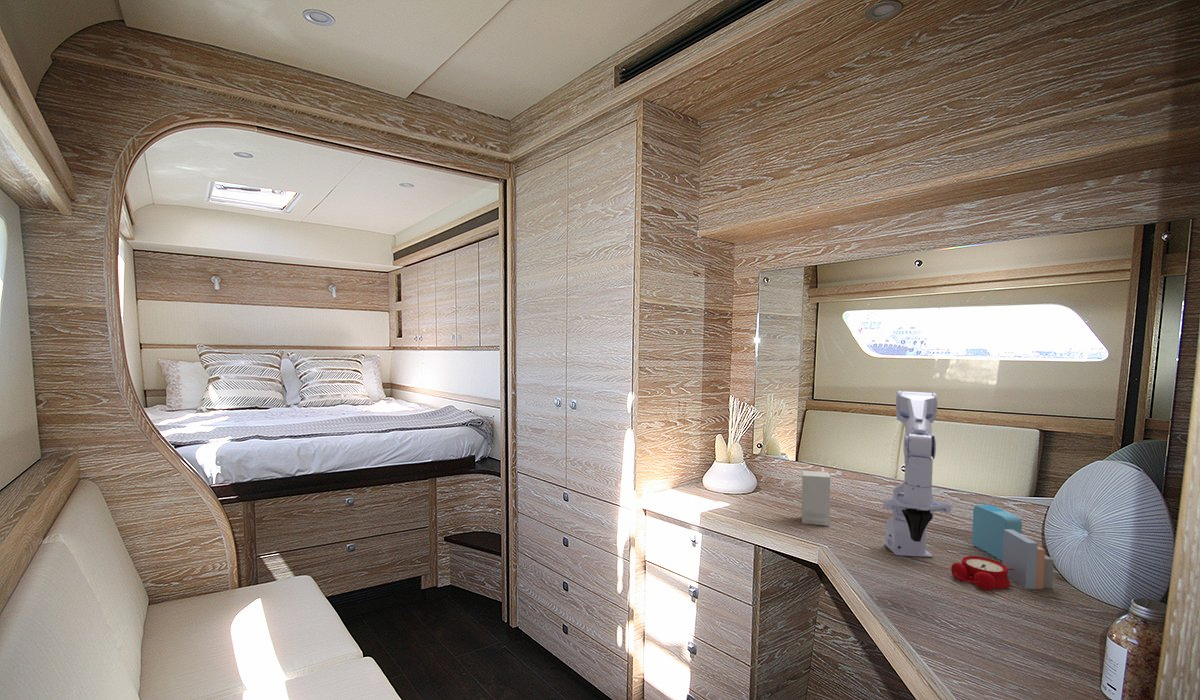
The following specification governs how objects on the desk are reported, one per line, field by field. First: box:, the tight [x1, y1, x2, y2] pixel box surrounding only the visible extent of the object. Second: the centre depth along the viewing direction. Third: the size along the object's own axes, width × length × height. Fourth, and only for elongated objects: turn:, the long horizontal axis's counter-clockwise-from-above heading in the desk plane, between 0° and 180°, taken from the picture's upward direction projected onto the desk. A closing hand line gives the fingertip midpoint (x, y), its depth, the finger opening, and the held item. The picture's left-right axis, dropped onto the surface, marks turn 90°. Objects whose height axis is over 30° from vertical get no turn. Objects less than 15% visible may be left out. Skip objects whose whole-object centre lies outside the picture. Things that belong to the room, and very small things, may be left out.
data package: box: [971, 504, 1023, 561], centre depth 150 cm, size 12×4×12 cm, turn 3°
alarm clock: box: [950, 555, 1014, 591], centre depth 133 cm, size 10×6×15 cm
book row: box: [1001, 529, 1054, 590], centre depth 134 cm, size 6×9×11 cm
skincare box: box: [801, 470, 831, 527], centre depth 172 cm, size 8×7×16 cm
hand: (915, 540), depth 131 cm, fingers closed
